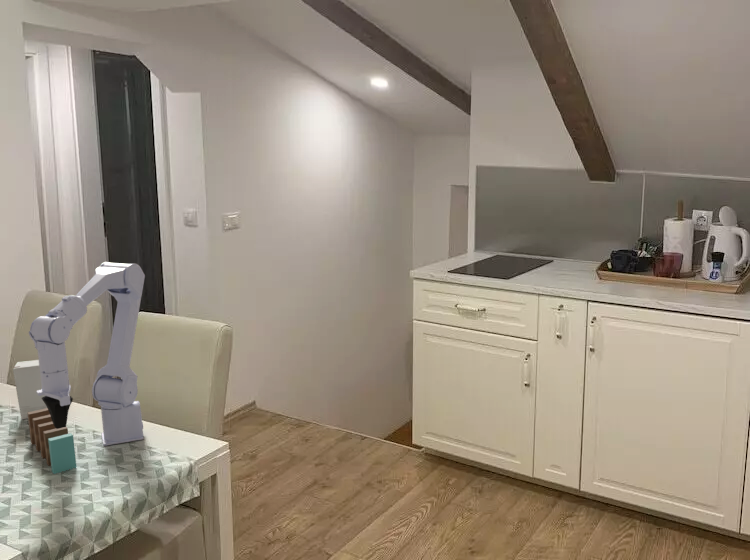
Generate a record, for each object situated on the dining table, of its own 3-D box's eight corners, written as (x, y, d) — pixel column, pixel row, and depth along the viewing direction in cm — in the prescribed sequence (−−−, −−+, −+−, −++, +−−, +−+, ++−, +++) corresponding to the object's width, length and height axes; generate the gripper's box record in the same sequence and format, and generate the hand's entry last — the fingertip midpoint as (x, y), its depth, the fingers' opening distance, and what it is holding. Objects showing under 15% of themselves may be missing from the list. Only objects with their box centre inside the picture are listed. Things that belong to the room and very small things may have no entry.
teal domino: (51, 471, 174) (48, 438, 172) (74, 465, 177) (71, 433, 175) (53, 474, 173) (50, 441, 171) (76, 467, 176) (73, 435, 174)
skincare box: (56, 409, 212) (50, 357, 209) (52, 417, 206) (46, 364, 203) (23, 412, 210) (17, 360, 207) (18, 420, 204) (12, 367, 201)
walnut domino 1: (30, 442, 190) (27, 412, 188) (52, 437, 193) (48, 407, 191) (32, 444, 189) (29, 414, 187) (53, 439, 192) (50, 409, 190)
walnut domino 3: (41, 456, 182) (37, 424, 180) (63, 450, 185) (59, 419, 183) (43, 458, 181) (39, 426, 179) (65, 453, 184) (61, 421, 182)
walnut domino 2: (36, 449, 186) (32, 418, 184) (57, 444, 189) (54, 413, 187) (37, 451, 185) (34, 420, 183) (59, 446, 188) (55, 415, 186)
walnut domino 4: (46, 463, 178) (43, 431, 177) (69, 457, 181) (65, 426, 179) (48, 466, 177) (44, 433, 175) (71, 460, 180) (67, 428, 178)
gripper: (26, 364, 173) (33, 421, 176) (43, 381, 162) (50, 441, 165) (59, 358, 178) (65, 413, 180) (77, 374, 166) (83, 433, 169)
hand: (60, 426), depth 173 cm, fingers closed
